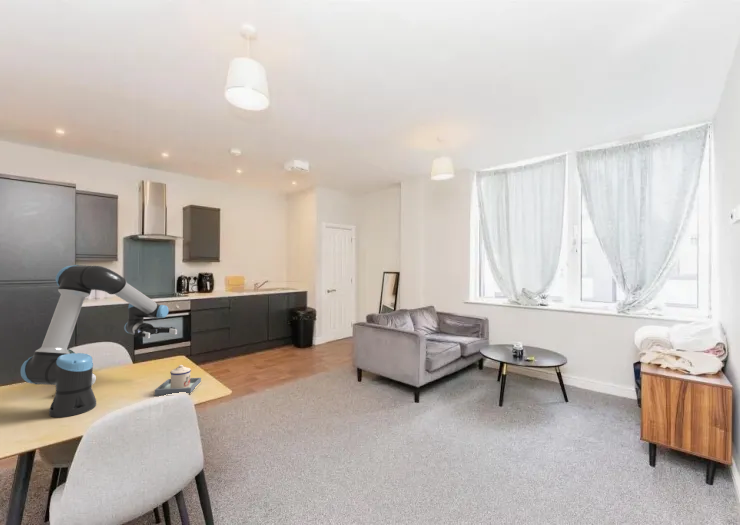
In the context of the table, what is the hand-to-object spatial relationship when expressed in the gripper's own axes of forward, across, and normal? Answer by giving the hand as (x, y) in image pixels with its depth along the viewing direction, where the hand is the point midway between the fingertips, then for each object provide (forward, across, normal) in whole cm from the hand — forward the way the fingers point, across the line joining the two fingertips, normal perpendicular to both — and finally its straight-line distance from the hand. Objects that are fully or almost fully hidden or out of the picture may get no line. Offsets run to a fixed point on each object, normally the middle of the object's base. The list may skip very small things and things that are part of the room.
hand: (163, 333), depth 174 cm
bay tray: (+14, -2, -27) cm, 30 cm away
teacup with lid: (+14, -3, -26) cm, 30 cm away
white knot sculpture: (-23, +28, -27) cm, 45 cm away
